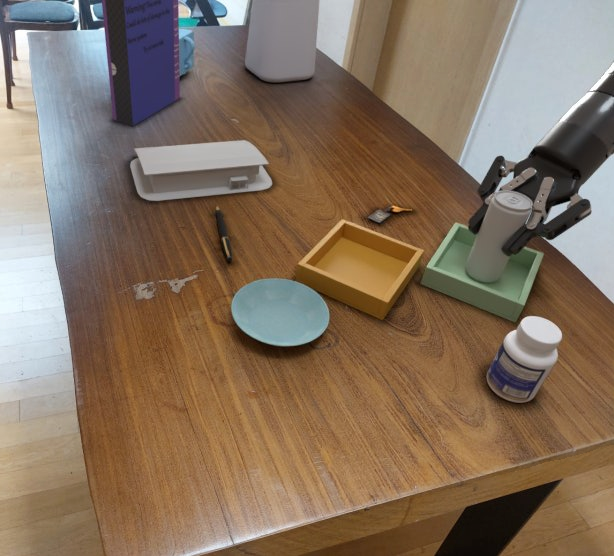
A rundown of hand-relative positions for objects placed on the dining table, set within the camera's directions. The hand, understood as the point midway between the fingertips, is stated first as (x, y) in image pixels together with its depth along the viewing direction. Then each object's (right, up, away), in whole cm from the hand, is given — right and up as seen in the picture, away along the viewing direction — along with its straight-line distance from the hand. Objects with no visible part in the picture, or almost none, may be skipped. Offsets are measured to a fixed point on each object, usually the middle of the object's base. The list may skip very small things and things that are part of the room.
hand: (488, 241), depth 71 cm
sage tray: (+1, -5, +5) cm, 7 cm away
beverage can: (+1, -4, +5) cm, 7 cm away
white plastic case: (-40, +13, +23) cm, 48 cm away
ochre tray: (-16, -4, +4) cm, 17 cm away
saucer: (-28, -10, -4) cm, 30 cm away
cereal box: (-52, +31, +43) cm, 74 cm away
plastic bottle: (-23, +47, +66) cm, 84 cm away
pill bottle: (-2, -17, -10) cm, 20 cm away
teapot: (-51, +44, +60) cm, 90 cm away
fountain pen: (-35, +1, +9) cm, 36 cm away
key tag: (-8, +5, +16) cm, 19 cm away
